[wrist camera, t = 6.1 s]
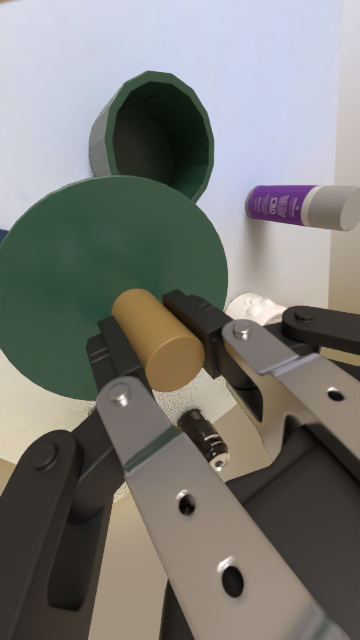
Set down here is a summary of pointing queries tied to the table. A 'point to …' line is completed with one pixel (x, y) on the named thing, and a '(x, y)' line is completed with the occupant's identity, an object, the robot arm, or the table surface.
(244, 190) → the table surface
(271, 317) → the mug
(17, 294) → the lid
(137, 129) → the tin
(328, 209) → the container
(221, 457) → the beverage can
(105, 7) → the table surface
